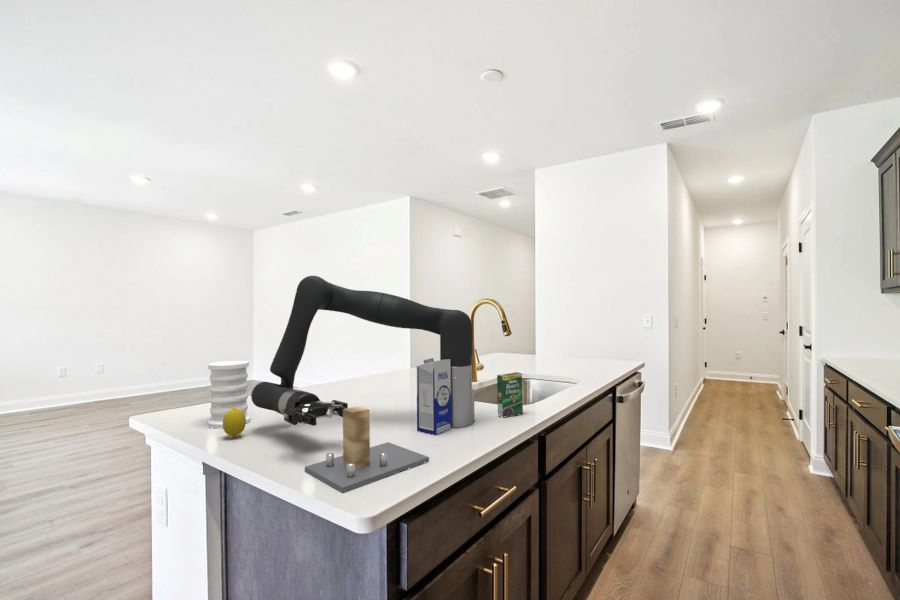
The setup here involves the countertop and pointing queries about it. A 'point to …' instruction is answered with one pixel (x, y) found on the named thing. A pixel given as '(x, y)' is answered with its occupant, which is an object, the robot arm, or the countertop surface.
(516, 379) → the coffee box
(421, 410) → the milk carton
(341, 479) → the plate
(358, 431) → the oak block
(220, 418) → the decorative container
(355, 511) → the countertop surface
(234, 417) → the lemon
